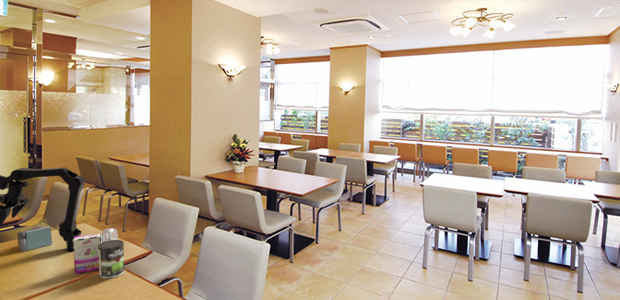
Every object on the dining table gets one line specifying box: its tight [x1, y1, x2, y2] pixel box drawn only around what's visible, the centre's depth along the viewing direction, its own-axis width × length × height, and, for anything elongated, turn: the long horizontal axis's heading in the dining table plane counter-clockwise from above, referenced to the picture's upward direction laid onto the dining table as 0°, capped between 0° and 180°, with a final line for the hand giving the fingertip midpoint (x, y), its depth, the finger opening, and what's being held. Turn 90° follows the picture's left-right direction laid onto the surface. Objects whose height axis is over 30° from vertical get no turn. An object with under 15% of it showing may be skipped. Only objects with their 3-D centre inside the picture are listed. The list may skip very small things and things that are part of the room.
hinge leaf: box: [20, 226, 53, 253], centre depth 186 cm, size 2×13×10 cm, turn 144°
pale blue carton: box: [16, 224, 42, 252], centre depth 188 cm, size 4×14×10 cm, turn 174°
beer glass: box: [101, 227, 119, 242], centre depth 175 cm, size 7×7×15 cm
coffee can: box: [98, 239, 126, 279], centre depth 161 cm, size 10×10×14 cm
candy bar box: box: [72, 232, 102, 275], centre depth 163 cm, size 11×5×16 cm, turn 117°
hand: (6, 220), depth 178 cm, fingers open, 9 cm apart
